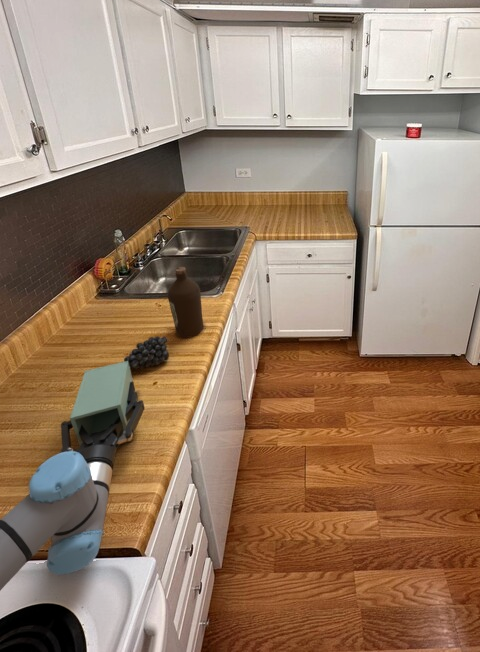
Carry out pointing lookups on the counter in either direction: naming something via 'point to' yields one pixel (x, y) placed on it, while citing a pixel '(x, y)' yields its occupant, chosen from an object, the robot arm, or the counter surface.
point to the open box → (102, 399)
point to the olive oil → (185, 305)
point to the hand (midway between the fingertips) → (109, 391)
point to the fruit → (148, 353)
